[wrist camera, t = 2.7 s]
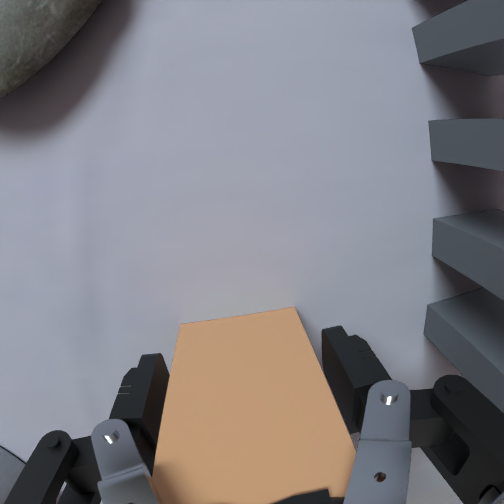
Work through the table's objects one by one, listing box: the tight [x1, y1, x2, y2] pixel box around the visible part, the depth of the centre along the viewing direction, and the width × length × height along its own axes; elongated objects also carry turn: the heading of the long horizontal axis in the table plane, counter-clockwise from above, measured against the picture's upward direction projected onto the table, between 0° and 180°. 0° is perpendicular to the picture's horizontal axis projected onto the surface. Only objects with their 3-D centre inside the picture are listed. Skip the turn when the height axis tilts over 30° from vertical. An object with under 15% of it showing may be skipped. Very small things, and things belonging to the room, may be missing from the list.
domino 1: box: [152, 307, 356, 504], centre depth 9 cm, size 2×5×10 cm, turn 98°
